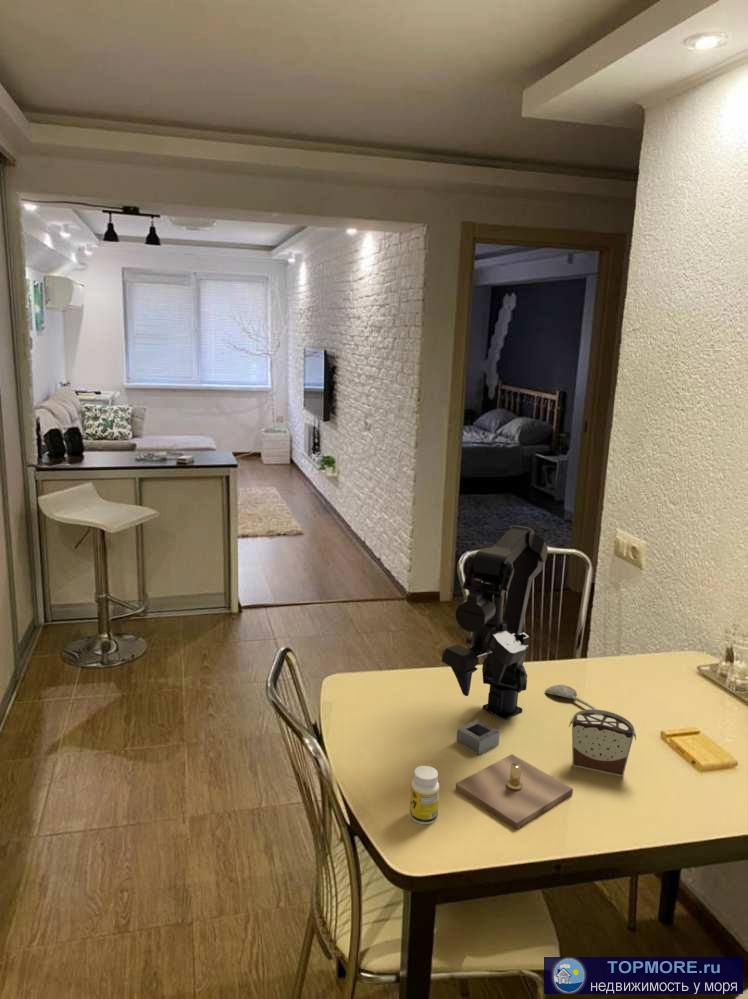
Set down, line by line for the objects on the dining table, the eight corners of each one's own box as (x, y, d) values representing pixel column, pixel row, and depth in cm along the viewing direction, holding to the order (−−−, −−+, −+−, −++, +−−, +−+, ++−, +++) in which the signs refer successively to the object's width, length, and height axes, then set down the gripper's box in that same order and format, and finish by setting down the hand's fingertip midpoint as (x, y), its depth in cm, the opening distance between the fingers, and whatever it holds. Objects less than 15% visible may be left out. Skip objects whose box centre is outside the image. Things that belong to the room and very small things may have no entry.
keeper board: (511, 759, 142) (512, 754, 142) (572, 794, 132) (573, 788, 132) (455, 789, 132) (455, 783, 132) (516, 829, 122) (516, 823, 121)
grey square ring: (476, 732, 152) (477, 719, 151) (498, 745, 147) (499, 731, 147) (456, 741, 148) (457, 728, 147) (478, 755, 143) (479, 741, 143)
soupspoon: (559, 689, 175) (538, 696, 172) (559, 676, 174) (539, 683, 171) (632, 728, 156) (611, 737, 153) (633, 714, 156) (612, 722, 152)
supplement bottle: (407, 807, 126) (410, 764, 124) (434, 807, 127) (437, 763, 125) (411, 825, 122) (414, 780, 120) (439, 825, 122) (442, 780, 120)
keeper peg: (513, 779, 134) (514, 760, 133) (525, 786, 131) (527, 767, 131) (503, 785, 132) (505, 765, 131) (515, 792, 130) (517, 772, 129)
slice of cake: (631, 761, 143) (637, 715, 141) (631, 778, 138) (637, 730, 135) (567, 748, 147) (572, 702, 145) (564, 764, 141) (569, 717, 139)
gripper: (486, 639, 130) (480, 719, 133) (550, 618, 142) (543, 692, 145) (442, 620, 138) (437, 695, 141) (506, 601, 150) (499, 672, 153)
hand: (481, 689), depth 145 cm, fingers open, 9 cm apart
